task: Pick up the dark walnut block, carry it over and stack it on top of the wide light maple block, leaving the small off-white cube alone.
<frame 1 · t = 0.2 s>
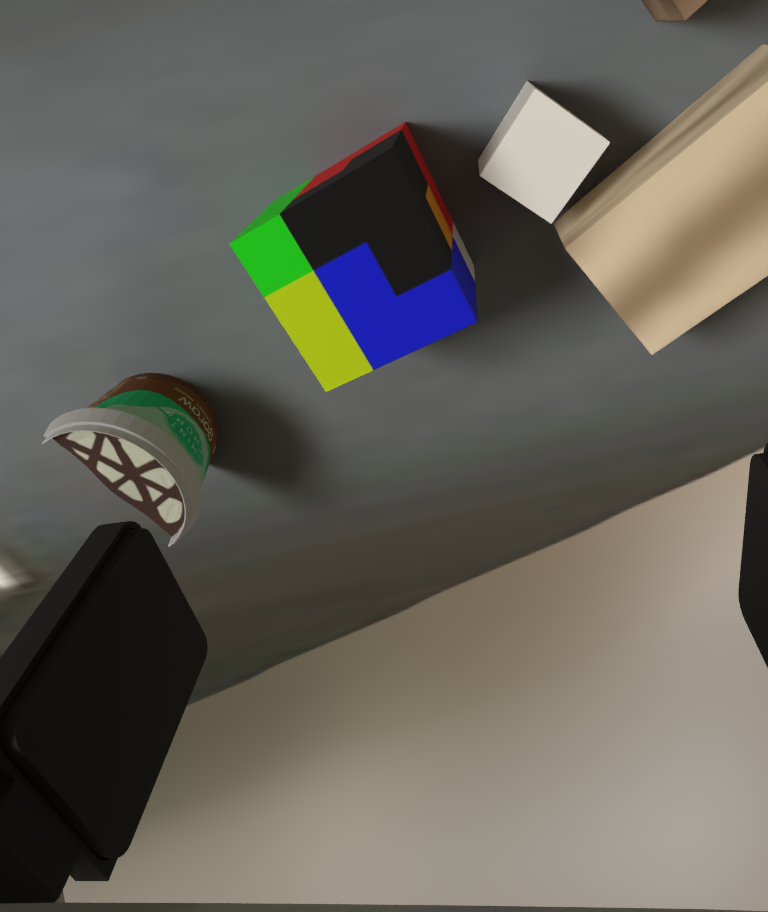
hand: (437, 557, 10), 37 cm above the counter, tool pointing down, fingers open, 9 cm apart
puzzle toy: (375, 233, 44), on the counter
maple block: (688, 197, 41), on the counter
offwhite cube: (535, 144, 40), on the counter
food container: (186, 404, 53), on the counter
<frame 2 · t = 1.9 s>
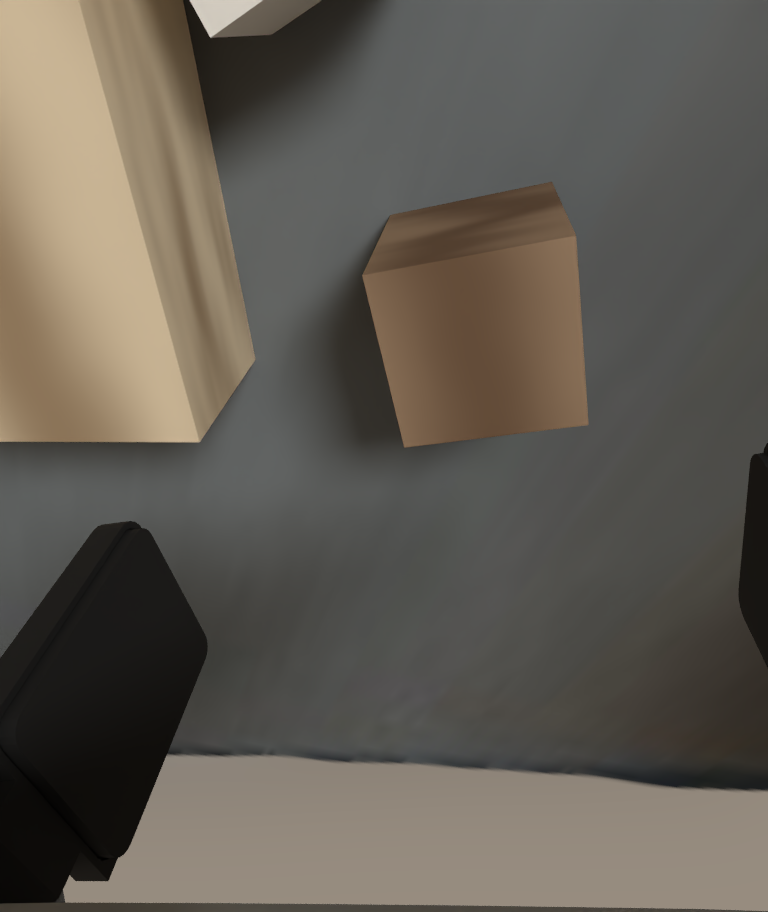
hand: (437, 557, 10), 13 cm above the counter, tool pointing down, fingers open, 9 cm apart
maple block: (85, 161, 21), on the counter
walnut block: (480, 276, 21), on the counter
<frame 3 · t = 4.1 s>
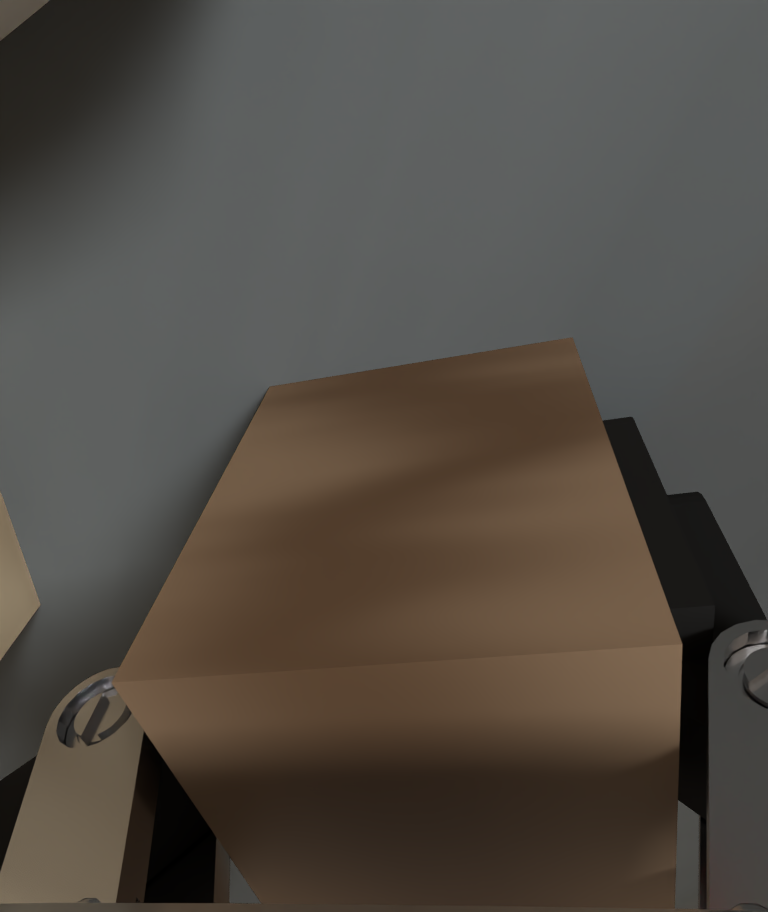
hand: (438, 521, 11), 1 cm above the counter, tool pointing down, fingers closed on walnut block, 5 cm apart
walnut block: (440, 486, 12), on the counter, touching gripper
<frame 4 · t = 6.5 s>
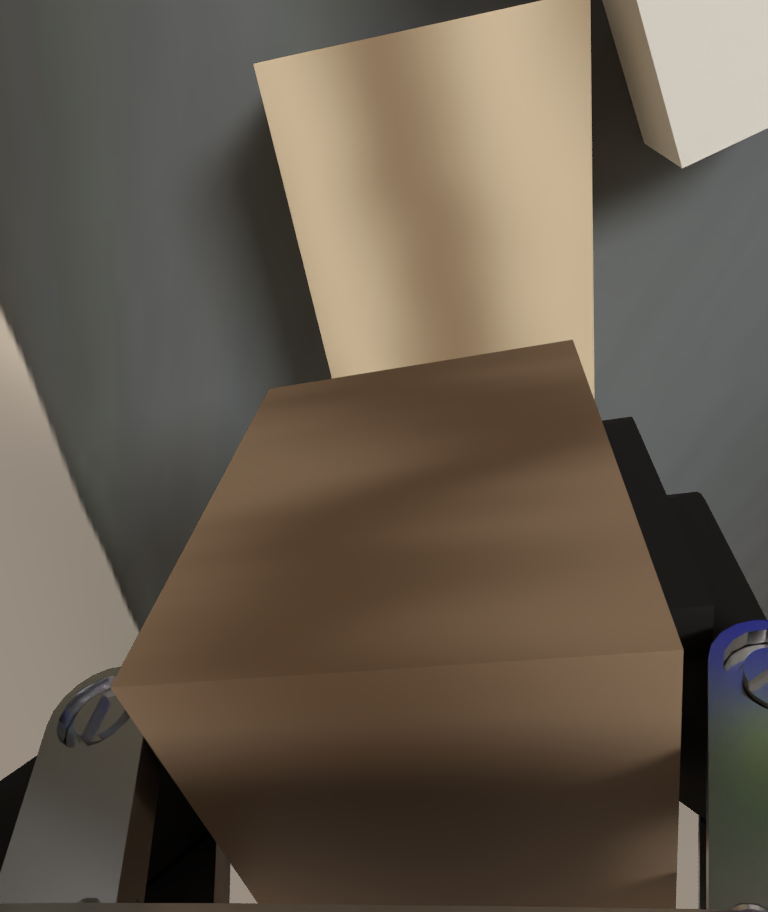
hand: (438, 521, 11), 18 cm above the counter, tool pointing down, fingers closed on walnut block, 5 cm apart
maple block: (450, 235, 26), on the counter
offwhite cube: (699, 29, 21), on the counter
walnut block: (440, 488, 12), point 17 cm above the counter, touching gripper
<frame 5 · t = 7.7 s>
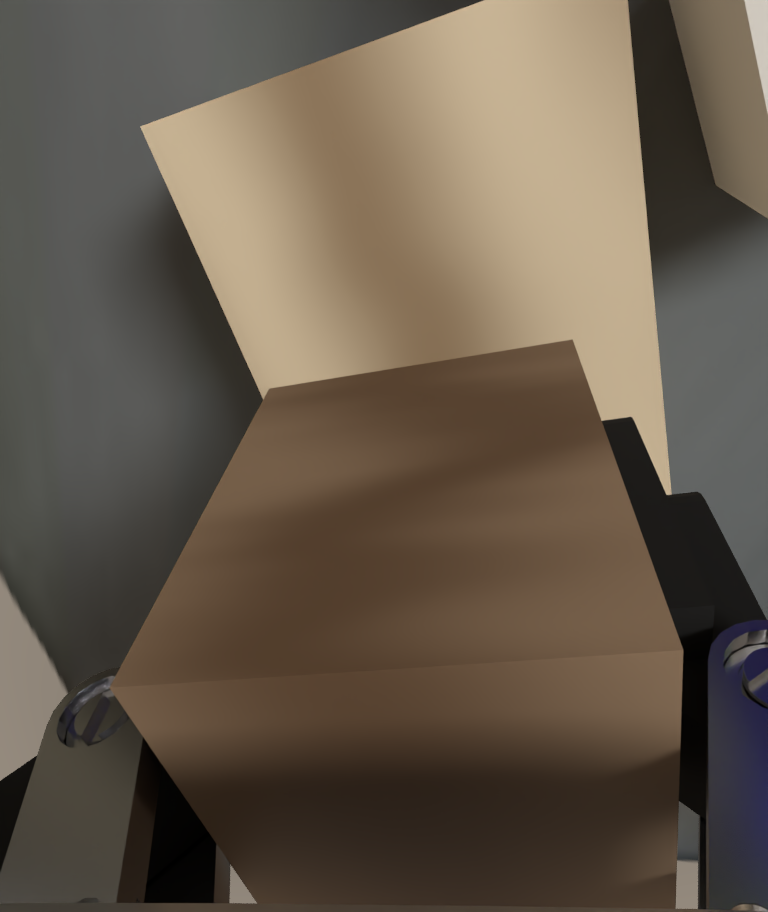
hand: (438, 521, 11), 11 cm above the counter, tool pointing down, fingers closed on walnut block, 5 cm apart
maple block: (455, 298, 20), on the counter
walnut block: (440, 488, 12), point 10 cm above the counter, touching gripper
when the fingers open (8 cm above the counter, at t = 8.9 s): walnut block drops 2 cm, point 6 cm above the counter.
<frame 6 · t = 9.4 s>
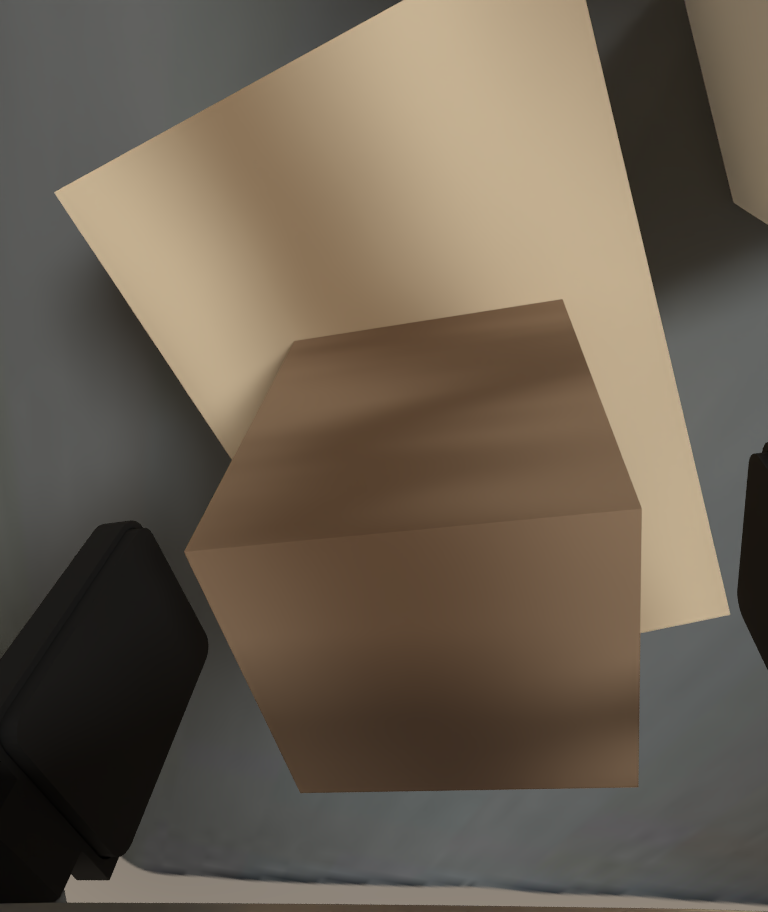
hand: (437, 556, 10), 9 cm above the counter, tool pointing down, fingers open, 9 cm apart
maple block: (446, 323, 18), on the counter
walnut block: (443, 435, 13), point 6 cm above the counter
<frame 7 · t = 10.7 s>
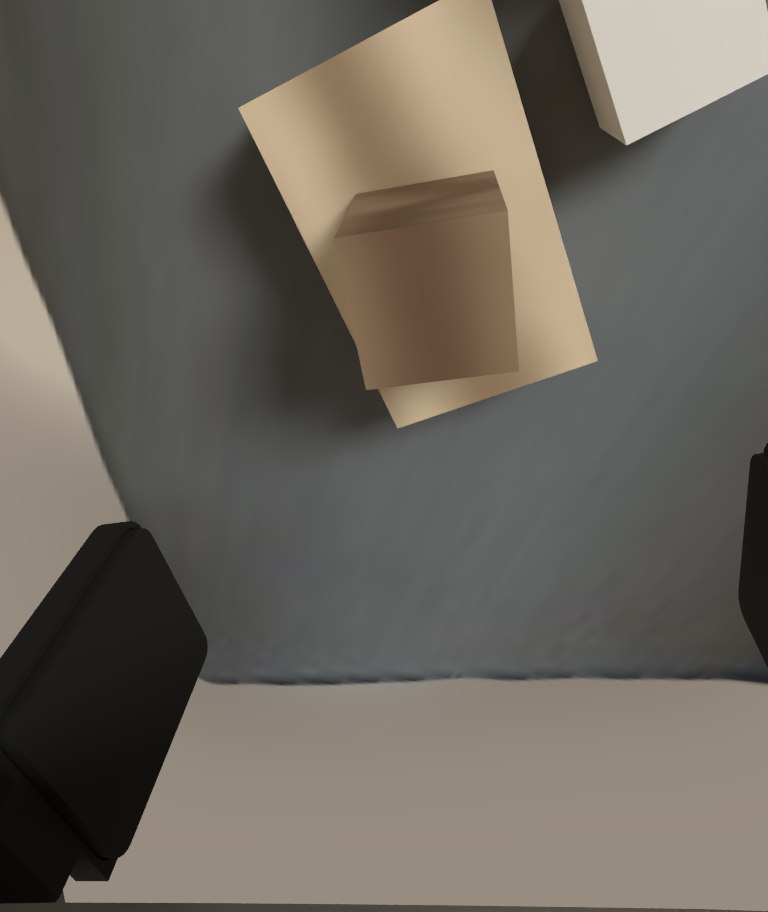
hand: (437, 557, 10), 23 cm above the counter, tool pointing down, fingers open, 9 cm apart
maple block: (435, 207, 30), on the counter, touching walnut block
offwhite cube: (642, 30, 25), on the counter
walnut block: (433, 251, 25), point 6 cm above the counter, touching maple block
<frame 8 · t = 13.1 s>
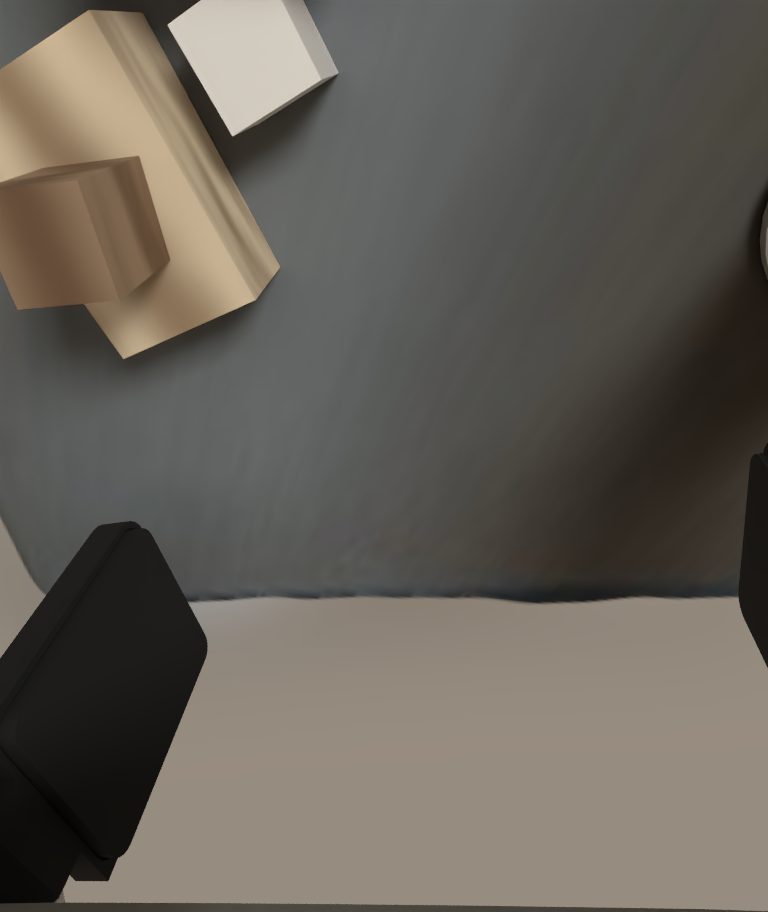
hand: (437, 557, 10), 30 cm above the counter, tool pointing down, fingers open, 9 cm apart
maple block: (155, 185, 37), on the counter, touching walnut block
offwhite cube: (272, 49, 33), on the counter
walnut block: (109, 215, 33), point 6 cm above the counter, touching maple block
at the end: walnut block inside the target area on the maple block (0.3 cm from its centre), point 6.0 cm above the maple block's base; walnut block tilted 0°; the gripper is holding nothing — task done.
